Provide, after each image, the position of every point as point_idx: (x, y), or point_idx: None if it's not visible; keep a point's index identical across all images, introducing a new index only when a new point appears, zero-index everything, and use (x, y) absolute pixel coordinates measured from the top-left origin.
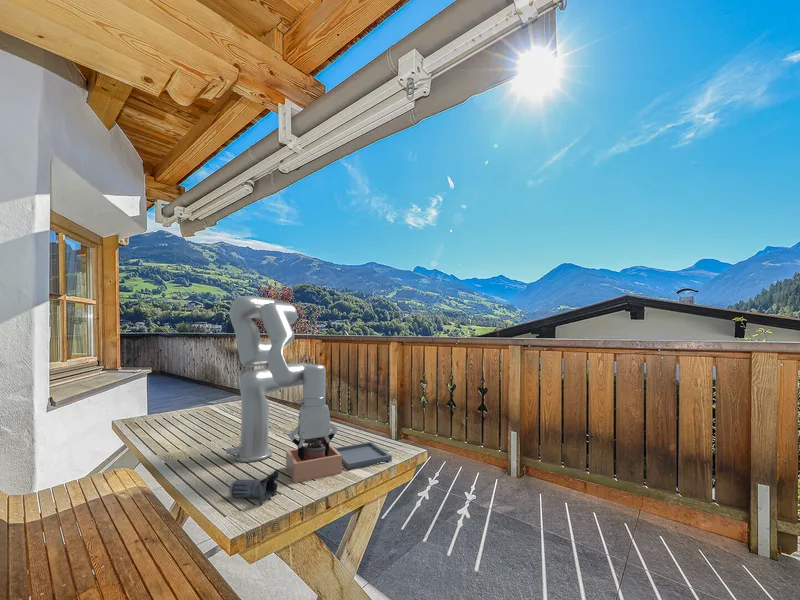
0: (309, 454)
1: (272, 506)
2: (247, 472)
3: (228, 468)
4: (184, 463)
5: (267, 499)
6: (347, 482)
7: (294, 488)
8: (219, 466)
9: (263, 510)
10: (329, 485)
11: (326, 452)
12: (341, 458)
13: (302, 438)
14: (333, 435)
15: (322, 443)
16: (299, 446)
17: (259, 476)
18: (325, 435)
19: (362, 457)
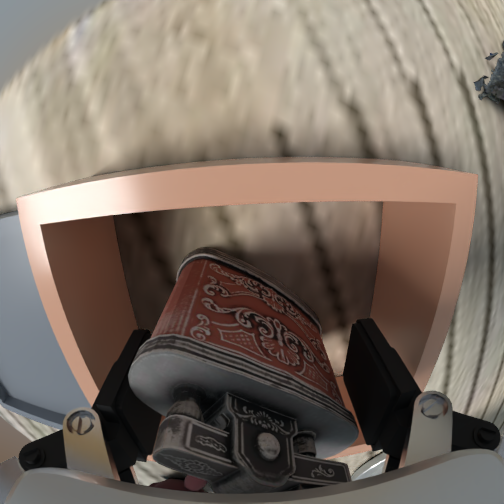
0: (299, 362)
1: (474, 7)
2: (476, 365)
3: (483, 399)
4: (500, 425)
5: (495, 68)
6: (102, 32)
7: (408, 88)
8: (484, 411)
9: (491, 8)
10: (207, 20)
11: (136, 344)
12: (35, 192)
13: (489, 452)
14: (23, 450)
15: (173, 485)
16: (435, 400)
17: (475, 320)
18: (71, 484)
19: (2, 312)
